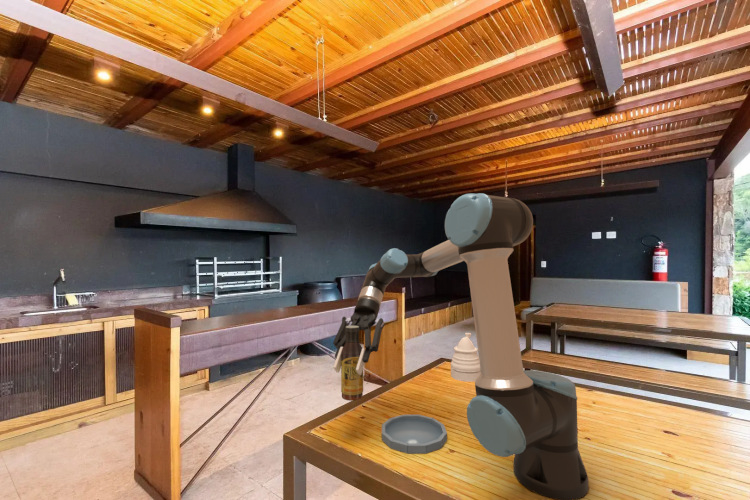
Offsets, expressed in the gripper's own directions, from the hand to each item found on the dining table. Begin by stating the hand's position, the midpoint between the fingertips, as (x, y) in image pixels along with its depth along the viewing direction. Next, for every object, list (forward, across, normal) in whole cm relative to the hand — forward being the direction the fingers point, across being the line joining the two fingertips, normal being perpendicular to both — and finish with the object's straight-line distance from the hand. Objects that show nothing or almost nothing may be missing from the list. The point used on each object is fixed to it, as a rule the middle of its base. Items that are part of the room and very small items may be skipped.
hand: (347, 371), depth 94 cm
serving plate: (+7, -16, -21) cm, 27 cm away
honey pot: (-33, -24, -61) cm, 73 cm away
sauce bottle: (+4, 0, -8) cm, 9 cm away
